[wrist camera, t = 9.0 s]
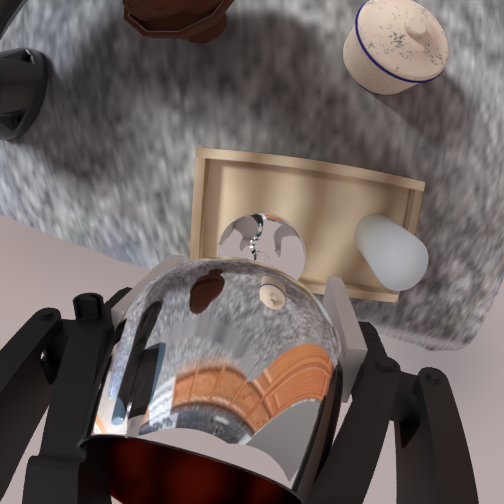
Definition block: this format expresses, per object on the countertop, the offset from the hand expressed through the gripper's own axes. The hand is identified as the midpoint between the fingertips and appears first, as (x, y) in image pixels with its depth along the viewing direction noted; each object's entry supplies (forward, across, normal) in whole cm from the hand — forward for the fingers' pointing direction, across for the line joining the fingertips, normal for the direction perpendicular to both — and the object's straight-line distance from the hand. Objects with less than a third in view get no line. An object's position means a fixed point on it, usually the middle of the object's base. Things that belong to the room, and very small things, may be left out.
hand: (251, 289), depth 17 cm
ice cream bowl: (+19, -10, +23) cm, 31 cm away
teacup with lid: (+19, +10, +22) cm, 30 cm away
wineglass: (+6, 0, 0) cm, 6 cm away
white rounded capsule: (+17, +12, 0) cm, 21 cm away
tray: (+18, +4, 0) cm, 19 cm away
